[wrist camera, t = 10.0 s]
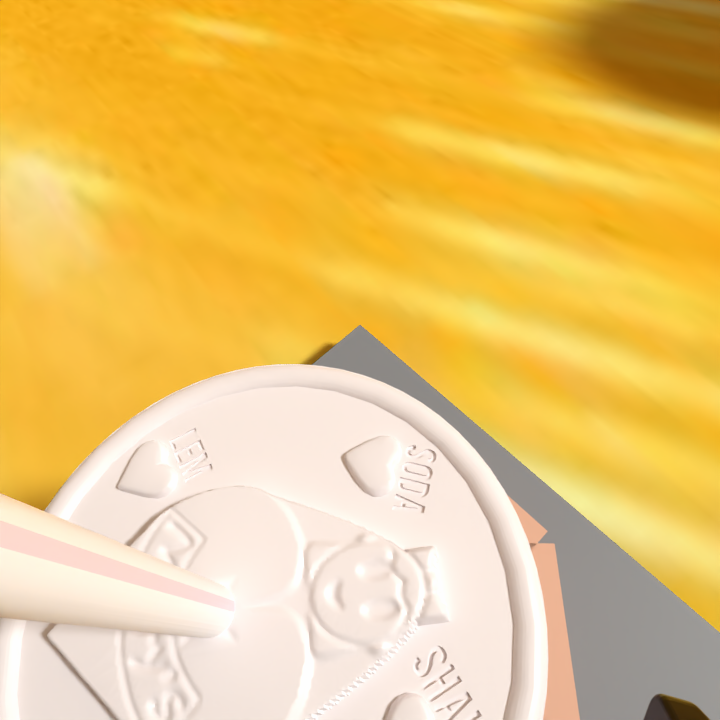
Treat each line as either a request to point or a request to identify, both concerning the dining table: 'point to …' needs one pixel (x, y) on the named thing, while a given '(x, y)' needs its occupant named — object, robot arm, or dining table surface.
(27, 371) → the dining table surface
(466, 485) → the smoothie
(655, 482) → the dining table surface
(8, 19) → the dining table surface
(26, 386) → the dining table surface
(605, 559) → the board
